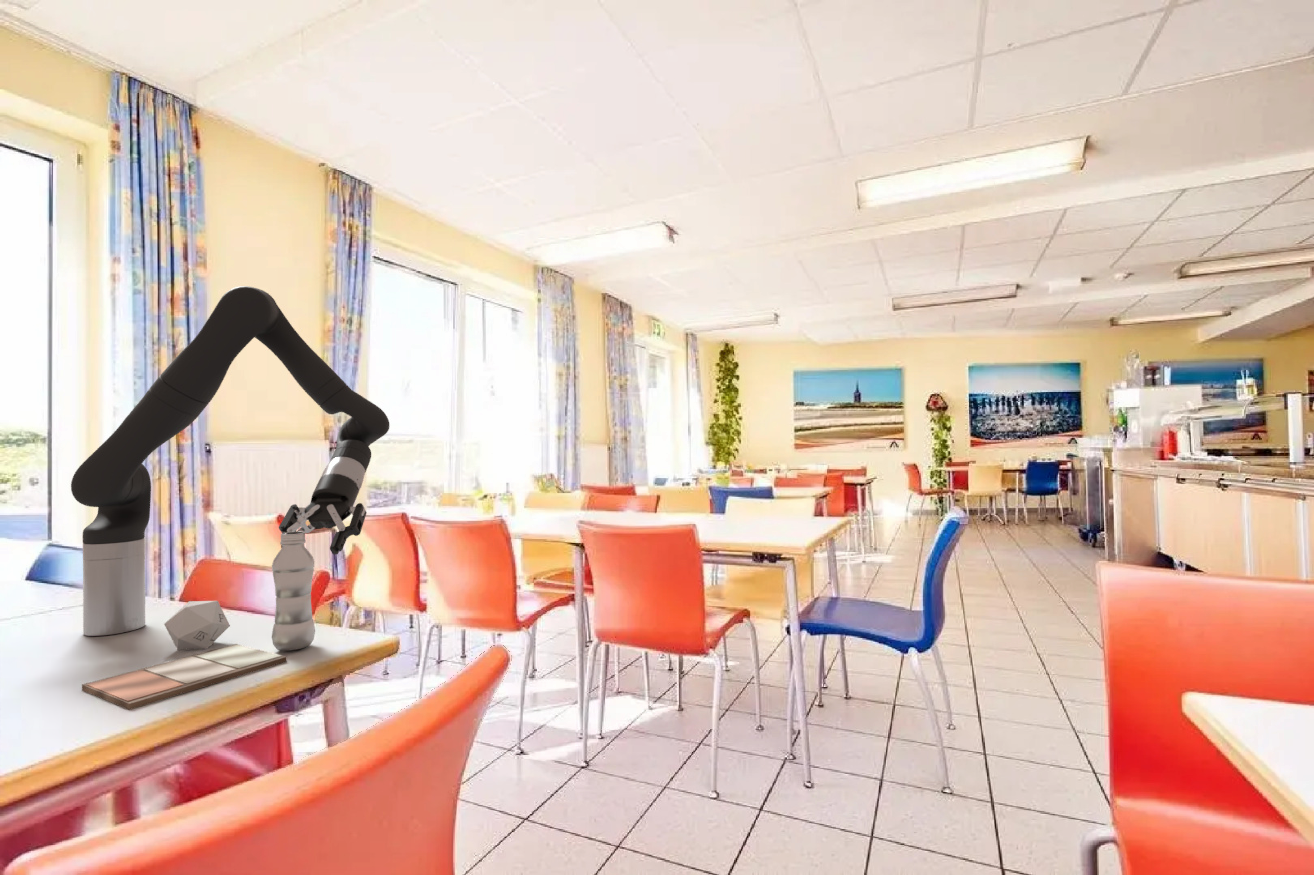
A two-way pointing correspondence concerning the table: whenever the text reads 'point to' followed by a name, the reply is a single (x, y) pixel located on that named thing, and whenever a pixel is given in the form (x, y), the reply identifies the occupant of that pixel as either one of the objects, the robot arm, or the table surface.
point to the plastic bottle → (293, 594)
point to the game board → (181, 675)
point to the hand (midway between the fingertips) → (309, 552)
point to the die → (197, 625)
